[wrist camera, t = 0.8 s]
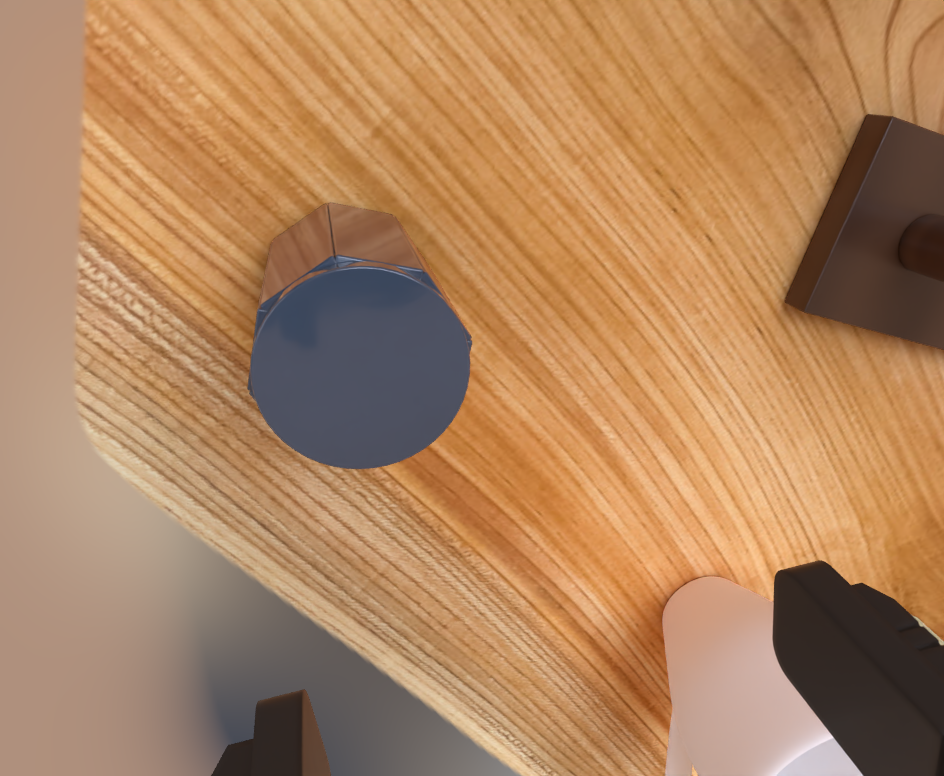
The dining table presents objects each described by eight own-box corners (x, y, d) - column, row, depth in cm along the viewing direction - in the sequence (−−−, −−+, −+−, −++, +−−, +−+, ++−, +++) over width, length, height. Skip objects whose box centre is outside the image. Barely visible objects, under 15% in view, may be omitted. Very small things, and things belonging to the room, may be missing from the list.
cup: (232, 267, 28) (201, 351, 20) (366, 173, 28) (391, 220, 20) (330, 388, 31) (339, 506, 22) (455, 304, 30) (509, 393, 22)
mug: (680, 520, 37) (825, 700, 26) (806, 568, 39) (982, 748, 29) (559, 706, 40) (646, 931, 30) (683, 738, 43) (803, 954, 32)
